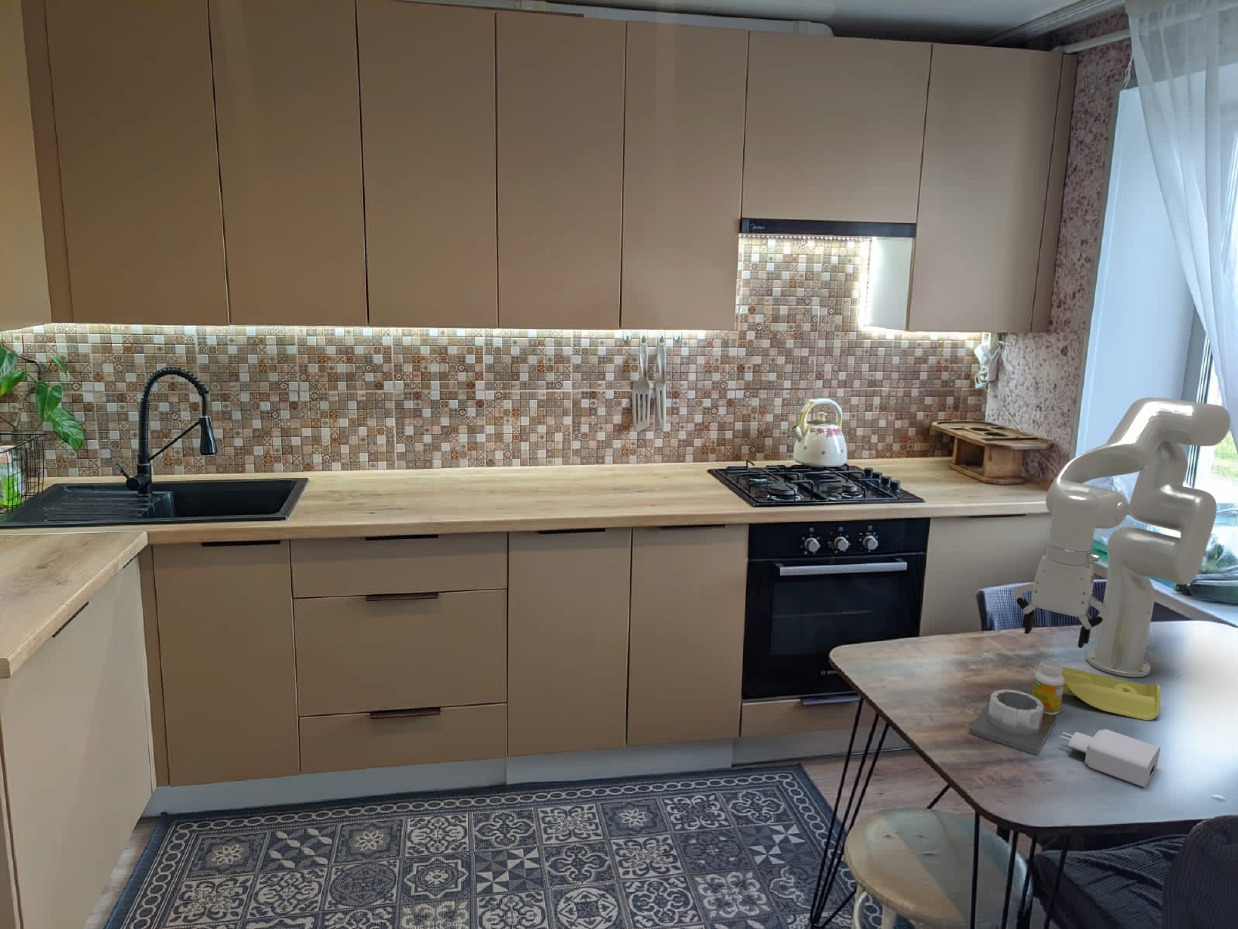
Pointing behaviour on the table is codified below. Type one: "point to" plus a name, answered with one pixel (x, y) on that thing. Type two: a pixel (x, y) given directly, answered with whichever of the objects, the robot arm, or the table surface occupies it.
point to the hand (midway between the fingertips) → (1054, 638)
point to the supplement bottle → (1049, 686)
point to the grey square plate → (1014, 721)
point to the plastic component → (1113, 694)
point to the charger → (1117, 755)
